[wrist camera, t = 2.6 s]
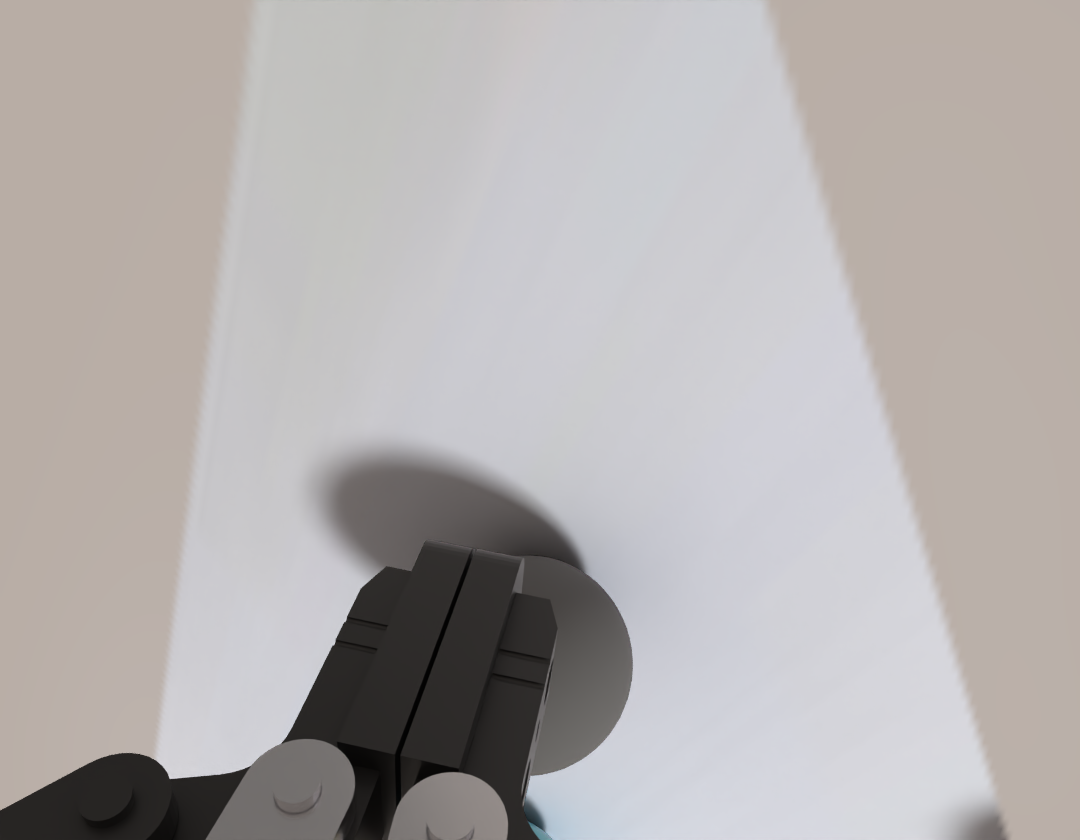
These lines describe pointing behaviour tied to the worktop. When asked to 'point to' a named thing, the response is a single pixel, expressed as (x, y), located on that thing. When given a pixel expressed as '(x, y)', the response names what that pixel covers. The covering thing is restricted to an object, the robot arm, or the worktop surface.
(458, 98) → the worktop surface
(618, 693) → the dark gray ball
